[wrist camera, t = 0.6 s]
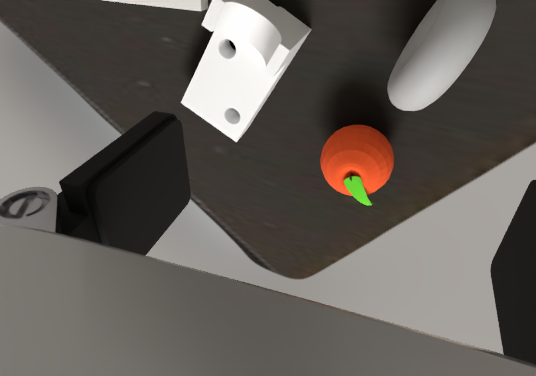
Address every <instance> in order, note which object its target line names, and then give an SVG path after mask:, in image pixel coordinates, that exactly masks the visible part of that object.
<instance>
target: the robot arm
mask: <svg viewBox="0 0 536 376" xmlns="http://www.w3.org/2000/svg"><path fill="white" fill-rule="evenodd" d="M59 183H60V186H61V189H62V192H61V193H59V194H58V195H57V194H56V192H54V191H53V190H52V189H49V188H46V187H32V188H25V189H21V190H18V191H16V192H13V193H10V194H9V195H7V196H5V197H3V198H2V199H0V376H536V180H533V181H531V182H530V184H529V186H528V188H527V190H526V192H525V194H524V196H523V198H522V200H521V203H520V205H519V207H518V209H517V211H516V213H515V215H514V217H513V219H512V221H511V223H510V225H509V227H508V229H507V231H506V233H505V235H504V238H503V240H502V242H501V244H500V246H499V248H498V250H497V252H496V254H495V256H494V258H493V261H492V264H491V278H492V284H493V290H494V297H495V303H496V309H497V315H498V322H499V328H500V334H501V340H502V346H503V353H504V355H503V354H500V353H497V352H493V351H490V350H486V349H482V348H479V347H475V346H471V345H468V344H464V343H461V342H457V341H454V340H450V339H447V338H444V337H440V336H437V335H433V334H429V333H426V332H422V331H419V330H415V329H411V328H408V327H404V326H400V325H397V324H394V323H390V322H386V321H383V320H379V319H375V318H372V317H368V316H365V315H361V314H358V313H354V312H350V311H347V310H343V309H340V308H336V307H332V306H329V305H325V304H322V303H318V302H314V301H311V300H307V299H304V298H300V297H296V296H292V295H289V294H285V293H282V292H278V291H274V290H271V289H267V288H263V287H260V286H256V285H252V284H249V283H245V282H241V281H238V280H234V279H230V278H227V277H223V276H219V275H216V274H212V273H208V272H205V271H201V270H197V269H193V268H190V267H186V266H182V265H178V264H175V263H171V262H167V261H164V260H160V259H156V258H152V257H149V256H145V255H146V254H147V253H148V252H149V251H150V249H151V248H152V247H153V246H154V245H155V243H156V242H157V241H158V240H159V238H160V237H161V236H162V235H163V234H164V232H165V231H166V230H167V229H168V227H169V226H170V225H171V224H172V223H173V221H174V220H175V219H176V218H177V216H178V215H179V214H180V213H181V212H182V210H183V209H184V208H185V207H186V205H187V204H188V202H189V200H190V195H191V193H190V184H189V177H188V169H187V161H186V154H185V146H184V138H183V130H182V124H181V122H180V120H177V118H176V116H175V115H174V114H170V113H164V112H158V111H155V112H153V113H151V114H150V115H149V116H147V117H146V118H145V119H143V120H142V121H140V122H139V123H138V124H136V125H135V126H134V127H132V128H131V129H130V130H128V131H127V132H126V133H124V134H123V135H122V136H120V137H119V138H118V139H116V140H115V141H114V142H112V143H111V144H109V145H108V146H107V147H105V148H104V149H103V150H101V151H100V152H98V153H97V154H96V155H94V156H93V157H92V158H90V159H89V160H88V161H86V162H85V163H84V164H82V165H81V166H80V167H78V168H77V169H75V170H74V171H73V172H72V173H70V174H69V175H67V176H66V177H65V178H63V179H62V180H61V181H60V182H59Z"/></svg>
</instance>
